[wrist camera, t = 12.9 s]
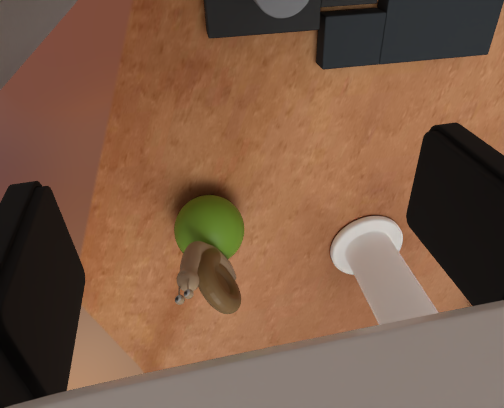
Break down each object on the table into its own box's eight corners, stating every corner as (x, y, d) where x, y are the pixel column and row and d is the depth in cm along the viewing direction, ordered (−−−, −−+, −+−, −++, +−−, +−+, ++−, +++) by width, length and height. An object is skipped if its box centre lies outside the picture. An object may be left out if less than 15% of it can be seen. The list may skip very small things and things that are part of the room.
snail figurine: (203, 161, 32) (219, 273, 22) (251, 210, 36) (282, 324, 26) (151, 200, 33) (145, 321, 24) (202, 243, 37) (215, 364, 27)
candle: (379, 201, 37) (621, 545, 18) (411, 242, 41) (639, 561, 21) (315, 245, 39) (469, 600, 19) (352, 280, 43) (511, 605, 23)
